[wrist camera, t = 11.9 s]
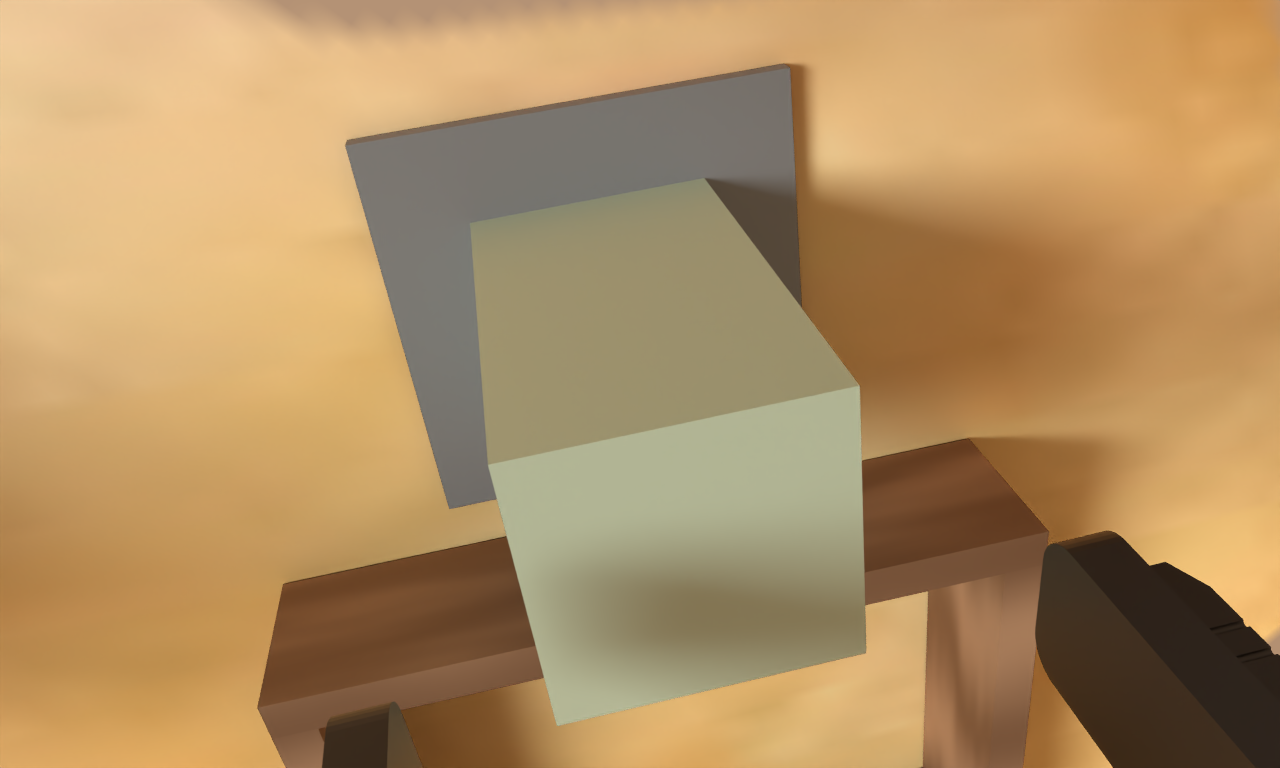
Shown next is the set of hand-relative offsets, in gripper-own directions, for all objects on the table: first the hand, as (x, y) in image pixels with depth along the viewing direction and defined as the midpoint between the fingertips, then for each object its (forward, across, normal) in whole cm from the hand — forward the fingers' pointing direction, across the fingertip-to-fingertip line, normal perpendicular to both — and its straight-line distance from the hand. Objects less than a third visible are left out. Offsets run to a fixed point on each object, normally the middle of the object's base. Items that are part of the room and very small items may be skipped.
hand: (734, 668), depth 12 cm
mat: (+12, 0, +1) cm, 12 cm away
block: (+11, 0, +1) cm, 11 cm away
